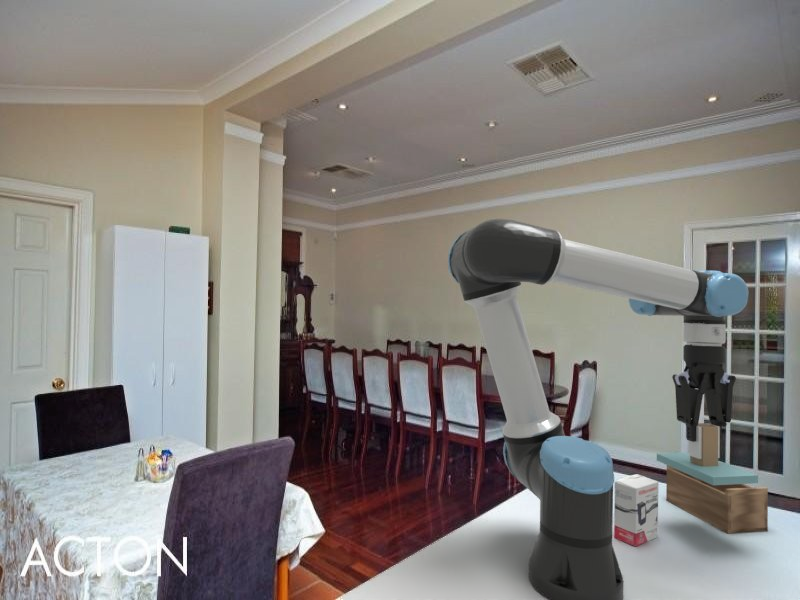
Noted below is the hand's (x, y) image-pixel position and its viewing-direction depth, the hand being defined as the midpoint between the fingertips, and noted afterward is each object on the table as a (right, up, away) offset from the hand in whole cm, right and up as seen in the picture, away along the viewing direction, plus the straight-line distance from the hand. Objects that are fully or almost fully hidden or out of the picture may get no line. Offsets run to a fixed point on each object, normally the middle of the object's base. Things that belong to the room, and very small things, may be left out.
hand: (703, 456), depth 99 cm
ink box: (-15, -17, -1) cm, 22 cm away
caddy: (+10, -17, +11) cm, 23 cm away
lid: (0, -3, 0) cm, 3 cm away
